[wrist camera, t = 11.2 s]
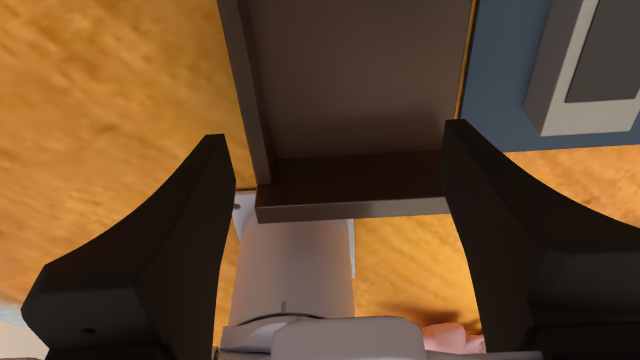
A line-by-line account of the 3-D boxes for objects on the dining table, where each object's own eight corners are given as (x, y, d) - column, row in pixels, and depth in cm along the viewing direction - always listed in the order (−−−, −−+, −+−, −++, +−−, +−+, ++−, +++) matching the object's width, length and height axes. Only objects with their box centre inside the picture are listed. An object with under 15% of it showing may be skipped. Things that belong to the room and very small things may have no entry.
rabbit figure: (528, 311, 41) (389, 299, 35) (563, 377, 37) (412, 376, 31) (486, 343, 45) (354, 338, 39) (513, 406, 41) (370, 410, 35)
